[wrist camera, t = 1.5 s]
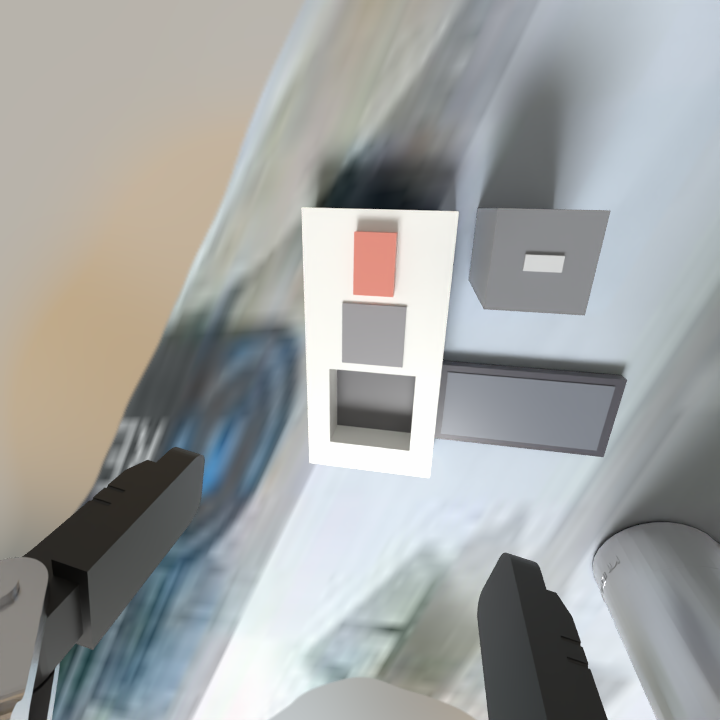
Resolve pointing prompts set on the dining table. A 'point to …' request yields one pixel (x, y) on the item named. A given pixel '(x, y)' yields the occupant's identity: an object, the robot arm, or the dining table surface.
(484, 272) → the block
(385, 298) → the power strip
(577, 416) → the phone
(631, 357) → the dining table surface
